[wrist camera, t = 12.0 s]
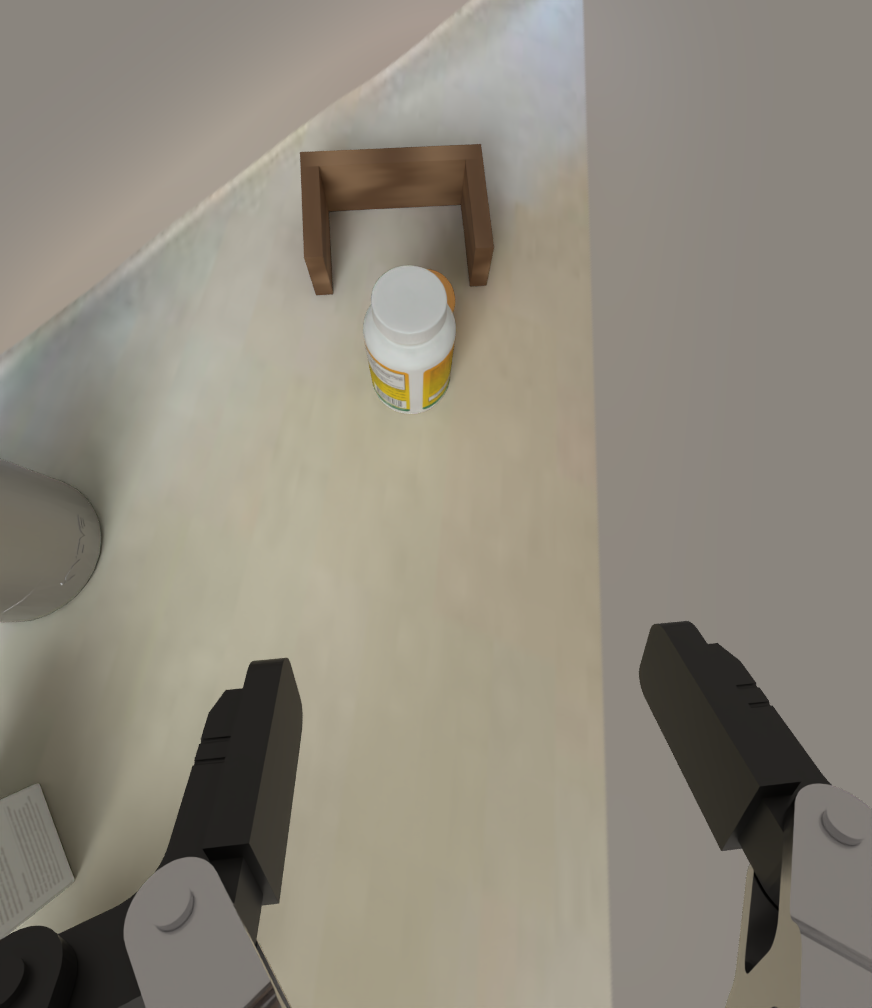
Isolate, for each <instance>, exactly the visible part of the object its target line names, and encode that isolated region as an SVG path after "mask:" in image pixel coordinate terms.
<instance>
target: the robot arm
mask: <svg viewBox="0 0 872 1008" xmlns="http://www.w3.org/2000/svg"><path fill="white" fill-rule="evenodd" d="M100 546H101V531H100V524H99V521H98V518H97V515H96V512H95V510H94V509H93V507H92V505H91V504H90V502H89V501H88V499H87V498H85V497H84V496H83V495H82V494H81V493H80V492H79V491H78V490H77V489H75V488H73V487H71V486H70V485H68V484H66V483H64V482H61V481H59V480H56V479H53V478H51V477H48V476H45V475H43V474H40V473H37V472H35V471H32V470H29V469H27V468H24V467H22V466H19V465H17V464H14V463H11V462H9V461H6V460H3V459H1V458H0V622H21V621H30V620H34V619H37V618H40V617H43V616H46V615H49V614H50V613H52V612H54V611H56V610H58V609H60V608H61V607H63V606H64V605H65V604H67V603H68V602H69V601H70V600H72V599H73V598H74V597H75V596H76V595H77V594H78V593H79V592H80V590H81V589H82V588H83V587H84V586H85V585H86V583H87V582H88V580H89V578H90V576H91V575H92V573H93V571H94V569H95V566H96V563H97V560H98V557H99V554H100ZM639 679H640V685H641V689H642V692H643V694H644V697H645V699H646V701H647V703H648V705H649V707H650V709H651V711H652V713H653V715H654V717H655V719H656V721H657V723H658V725H659V727H660V729H661V731H662V733H663V735H664V737H665V739H666V741H667V743H668V745H669V747H670V749H671V751H672V753H673V755H674V757H675V759H676V761H677V763H678V765H679V767H680V769H681V771H682V773H683V775H684V777H685V779H686V781H687V783H688V785H689V787H690V789H691V791H692V793H693V795H694V797H695V799H696V801H697V803H698V805H699V807H700V809H701V811H702V813H703V815H704V817H705V819H706V821H707V823H708V825H709V827H710V829H711V831H712V833H713V835H714V837H715V839H716V841H717V843H718V845H719V848H720V849H721V851H726V850H733V849H743V851H744V853H745V855H746V857H747V859H748V860H749V862H750V864H749V866H748V870H747V875H746V876H747V877H746V885H745V893H744V894H745V895H744V903H743V911H742V920H741V929H740V930H741V931H740V938H739V947H738V957H737V965H736V972H735V978H734V982H733V986H732V989H731V991H730V994H729V996H728V999H727V1003H726V1006H725V1008H872V809H871V808H870V807H869V806H868V805H867V804H866V803H864V802H863V801H862V800H860V799H859V798H858V797H856V796H854V795H853V794H851V793H849V792H847V791H845V790H843V789H840V788H838V787H835V786H832V785H831V784H830V783H829V782H828V781H827V779H826V778H825V777H824V776H823V775H822V773H821V772H820V770H819V769H818V768H817V766H816V765H815V764H814V762H813V761H812V759H811V758H810V757H809V755H808V754H807V753H806V751H805V750H804V748H803V747H802V746H801V744H800V743H799V742H798V740H797V739H796V737H795V736H794V735H793V733H792V732H791V730H790V729H789V728H788V726H787V725H786V724H785V722H784V721H783V719H782V718H781V717H780V715H779V714H778V713H777V711H776V710H775V708H774V707H773V706H770V704H769V700H768V699H767V698H766V696H765V695H764V693H763V692H762V690H761V689H760V688H758V687H757V686H756V682H755V681H754V680H753V678H752V677H751V675H750V674H749V672H748V671H747V670H746V668H745V667H744V666H743V664H742V663H741V662H740V661H739V660H738V659H737V658H736V657H734V656H733V655H732V654H731V653H729V652H728V651H727V650H725V649H724V648H723V647H722V646H720V645H719V644H718V643H715V644H707V643H706V641H705V640H704V638H703V637H702V635H701V634H700V632H699V631H698V629H697V628H696V627H695V625H693V624H692V623H691V622H689V621H683V622H671V623H661V624H654V625H653V626H652V627H651V629H650V632H649V636H648V639H647V643H646V646H645V650H644V654H643V657H642V661H641V664H640V668H639ZM301 733H302V704H301V699H300V695H299V692H298V688H297V685H296V681H295V678H294V674H293V671H292V667H291V664H290V661H289V659H288V658H280V659H269V660H259V661H252V662H251V663H250V665H249V667H248V670H247V674H246V678H245V682H244V686H243V688H242V689H232V690H225V692H224V693H223V694H222V696H221V697H220V699H219V700H218V701H217V703H216V704H215V705H214V707H213V708H212V709H211V711H210V712H209V714H208V717H207V720H206V724H205V727H204V730H203V734H202V737H201V744H199V747H198V750H197V753H196V757H195V760H194V761H195V764H194V766H192V770H191V773H190V776H189V780H188V783H187V786H186V789H185V793H184V796H183V799H182V803H181V806H180V809H179V812H178V816H177V819H176V822H175V825H174V829H173V832H172V835H171V839H170V842H169V845H168V848H167V851H166V853H165V856H164V858H163V860H162V862H161V864H160V865H159V867H158V868H157V870H156V871H155V873H154V874H153V875H151V876H150V877H149V878H148V879H147V881H146V882H145V883H144V884H143V885H142V886H141V888H140V889H139V890H138V892H136V893H135V894H134V895H133V896H132V897H130V898H129V899H128V900H126V901H125V902H123V903H122V904H120V905H118V906H116V907H114V908H113V909H110V910H108V911H106V912H104V913H102V914H100V915H98V916H96V917H94V918H91V919H89V920H87V921H85V922H83V923H81V924H79V925H77V926H75V927H72V928H70V929H68V930H66V931H64V932H62V933H60V934H56V933H55V932H54V931H53V930H52V929H50V928H47V927H44V926H30V927H26V928H23V929H20V930H17V931H15V932H13V933H11V934H9V935H7V936H6V937H4V938H2V939H1V940H0V1008H292V1007H291V1005H290V1003H289V1001H288V999H287V997H286V995H285V993H284V991H283V989H282V987H281V985H280V983H279V981H278V979H277V977H276V975H275V973H274V971H273V969H272V967H271V965H270V963H269V961H268V959H267V957H266V955H265V953H264V951H263V949H262V947H261V945H260V944H259V942H258V940H257V932H258V926H259V919H260V913H261V907H262V905H270V904H278V903H279V900H280V892H281V885H282V877H283V870H284V862H285V854H286V847H287V839H288V832H289V824H290V817H291V809H292V801H293V794H294V786H295V779H296V771H297V764H298V756H299V748H300V741H301Z"/></svg>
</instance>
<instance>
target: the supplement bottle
mask: <svg viewBox="0 0 872 1008" xmlns="http://www.w3.org/2000/svg"><path fill="white" fill-rule="evenodd" d="M363 334H364V341H365V346H366V351H367V356H368V362H369V368H370V372H371V377H372V383H373V387H374V390H375V392H376V394H377V396H378V397H379V399H380V400H381V401H382V402H383V403H384V404H385V405H386V406H388V407H389V408H391V409H392V410H395V411H397V412H400V413H406V414H416V413H421V412H424V411H427V410H429V409H431V408H432V407H433V406H435V405H436V404H437V403H438V402H439V401H440V400H441V399H442V397H443V396H444V394H445V393H446V390H447V388H448V384H449V378H450V371H451V364H452V357H453V350H454V342H455V335H456V324H455V319H454V316H453V313H452V311H451V309H450V307H449V305H448V304H447V295H446V291H445V288H444V286H443V284H442V282H441V281H440V280H439V278H438V277H437V276H436V275H435V274H433V273H432V272H431V271H429V270H427V269H425V268H422V267H419V266H413V265H405V266H399V267H395V268H393V269H390V270H389V271H387V272H386V273H384V274H383V275H382V276H381V277H380V278H379V279H378V280H377V282H376V283H375V285H374V287H373V290H372V295H371V305H370V306H369V308H368V310H367V312H366V315H365V318H364V323H363Z"/></svg>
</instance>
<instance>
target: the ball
mask: <svg viewBox="0 0 872 1008" xmlns="http://www.w3.org/2000/svg"><path fill="white" fill-rule="evenodd" d="M427 270H429V271H431V272H432V273H433V274H435V275H436V276H437V277H438V278H439V280H440V281H441V282H442V284H443V286H444V288H445V291H446V295H447V304H448V305H449V307H450V309H451V311H452V313H453V311H454V307H455V295H454V291H453V288H452V286H451V284H450V282H449V281H448V280H447V279H446V277H445V276H443V275H442V274H441V273H439V272H437V271H434V270H430V269H427Z"/></svg>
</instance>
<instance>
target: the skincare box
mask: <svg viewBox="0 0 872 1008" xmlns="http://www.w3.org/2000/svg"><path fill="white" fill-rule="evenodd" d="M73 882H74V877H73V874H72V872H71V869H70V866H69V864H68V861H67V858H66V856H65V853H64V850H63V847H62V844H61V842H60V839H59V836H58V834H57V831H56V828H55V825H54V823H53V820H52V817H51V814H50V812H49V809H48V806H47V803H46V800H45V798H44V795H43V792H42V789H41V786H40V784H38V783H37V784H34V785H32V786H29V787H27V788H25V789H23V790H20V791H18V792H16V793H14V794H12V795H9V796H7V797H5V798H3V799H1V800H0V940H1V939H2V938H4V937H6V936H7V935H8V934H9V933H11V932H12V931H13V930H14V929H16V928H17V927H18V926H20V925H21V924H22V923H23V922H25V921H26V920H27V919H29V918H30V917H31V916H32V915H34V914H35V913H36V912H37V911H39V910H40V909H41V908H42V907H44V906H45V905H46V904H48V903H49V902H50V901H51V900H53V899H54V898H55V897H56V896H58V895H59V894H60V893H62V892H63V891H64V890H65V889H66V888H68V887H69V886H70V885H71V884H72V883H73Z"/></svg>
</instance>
